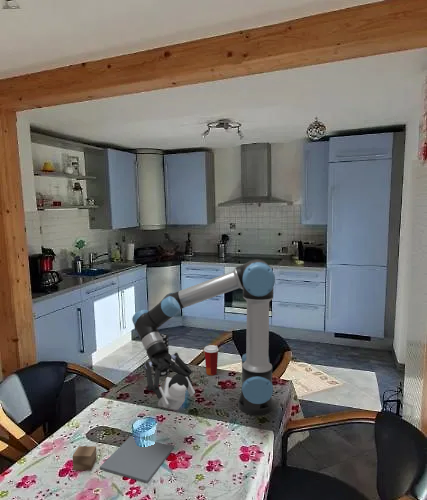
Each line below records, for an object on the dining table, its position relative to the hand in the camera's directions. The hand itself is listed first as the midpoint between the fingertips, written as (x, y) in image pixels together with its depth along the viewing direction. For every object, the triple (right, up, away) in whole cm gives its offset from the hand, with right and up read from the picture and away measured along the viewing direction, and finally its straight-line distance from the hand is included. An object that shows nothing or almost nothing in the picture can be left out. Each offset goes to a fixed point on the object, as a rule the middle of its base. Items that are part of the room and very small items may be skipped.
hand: (180, 400), depth 127 cm
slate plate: (-14, -18, -4) cm, 23 cm away
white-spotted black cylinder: (-16, -12, +63) cm, 66 cm away
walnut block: (-31, -19, -7) cm, 37 cm away
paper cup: (+11, -12, +63) cm, 65 cm away
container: (-5, -2, +7) cm, 8 cm away
